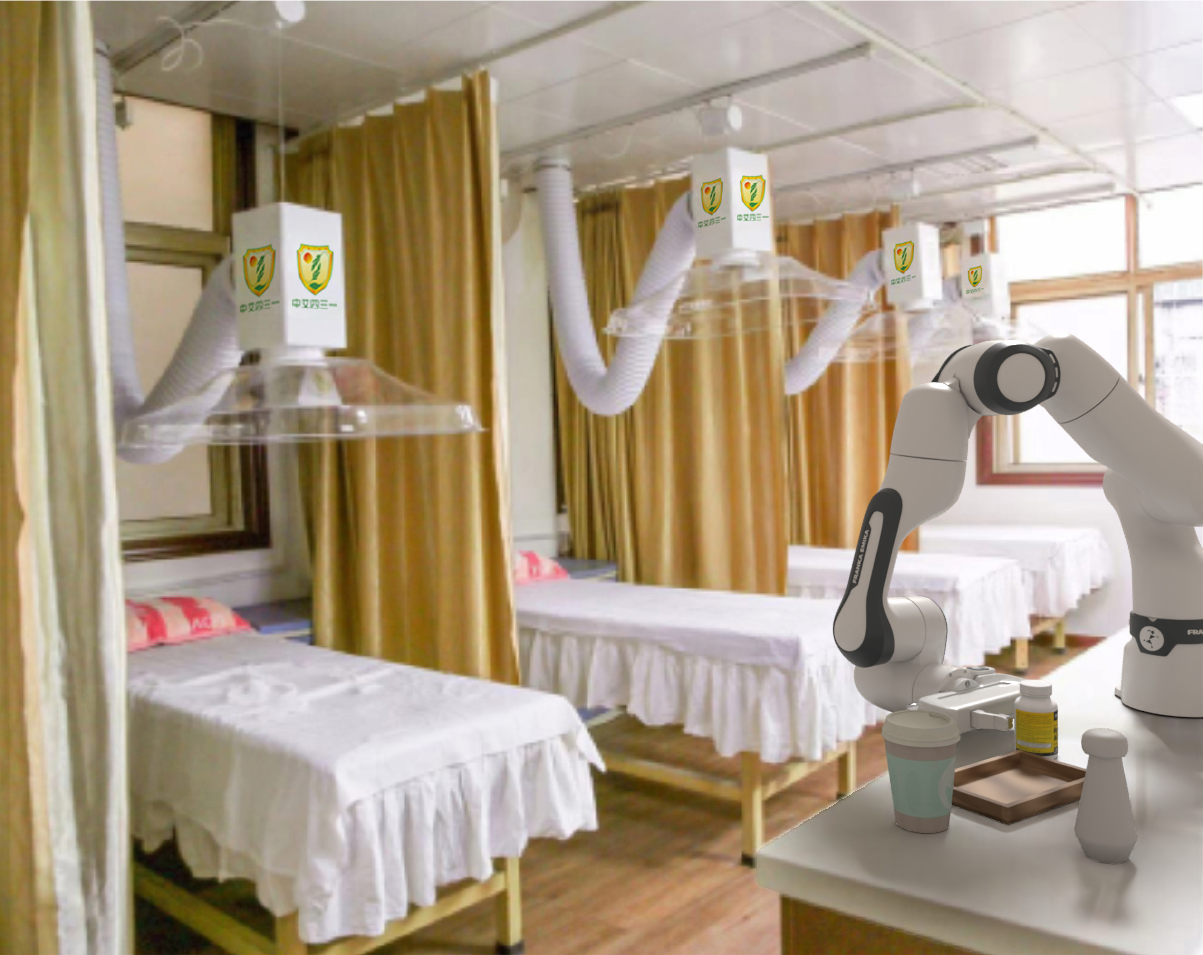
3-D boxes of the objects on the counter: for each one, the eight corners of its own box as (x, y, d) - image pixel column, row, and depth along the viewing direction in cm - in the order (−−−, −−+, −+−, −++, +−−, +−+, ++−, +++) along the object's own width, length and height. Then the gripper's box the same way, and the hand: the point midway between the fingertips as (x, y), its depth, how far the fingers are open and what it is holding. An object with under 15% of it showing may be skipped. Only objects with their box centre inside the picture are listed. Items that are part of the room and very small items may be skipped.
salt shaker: (1111, 872, 104) (1109, 743, 104) (1062, 852, 109) (1060, 729, 109) (1149, 859, 107) (1148, 733, 106) (1100, 840, 112) (1098, 720, 111)
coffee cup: (951, 844, 112) (949, 733, 112) (873, 830, 117) (870, 724, 116) (970, 817, 120) (968, 713, 119) (895, 805, 124) (893, 704, 124)
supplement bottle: (1062, 762, 137) (1061, 688, 136) (1018, 761, 138) (1017, 687, 137) (1053, 749, 142) (1052, 678, 142) (1011, 748, 143) (1009, 677, 143)
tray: (1018, 764, 137) (1018, 749, 136) (1104, 790, 126) (1104, 774, 126) (923, 794, 127) (923, 778, 127) (1008, 825, 117) (1007, 807, 117)
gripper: (897, 687, 146) (980, 708, 135) (994, 664, 157) (1078, 682, 145) (899, 731, 147) (981, 756, 135) (994, 706, 157) (1079, 727, 146)
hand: (1032, 717), depth 140 cm, fingers open, 8 cm apart
